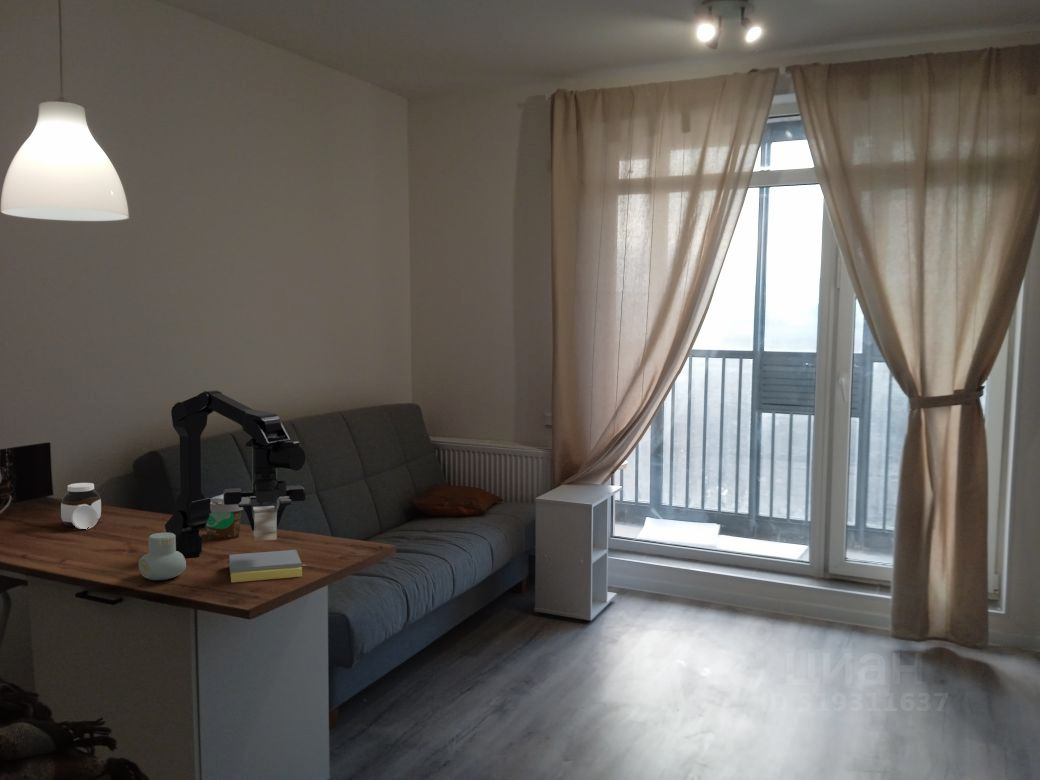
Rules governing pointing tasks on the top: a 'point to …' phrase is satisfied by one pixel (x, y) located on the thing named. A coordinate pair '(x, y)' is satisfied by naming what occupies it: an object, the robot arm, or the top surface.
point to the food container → (223, 521)
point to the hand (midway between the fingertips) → (264, 529)
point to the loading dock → (264, 565)
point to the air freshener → (162, 558)
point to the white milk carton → (265, 523)
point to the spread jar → (81, 506)
